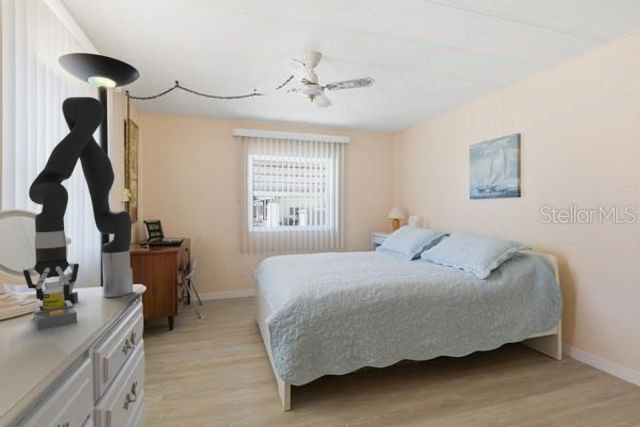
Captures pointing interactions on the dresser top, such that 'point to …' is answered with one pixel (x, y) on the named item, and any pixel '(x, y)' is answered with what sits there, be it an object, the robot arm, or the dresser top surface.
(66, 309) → the gray rectangular box
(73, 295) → the stone bust sculpture
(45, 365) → the dresser top surface
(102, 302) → the dresser top surface
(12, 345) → the dresser top surface
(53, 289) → the supplement bottle
